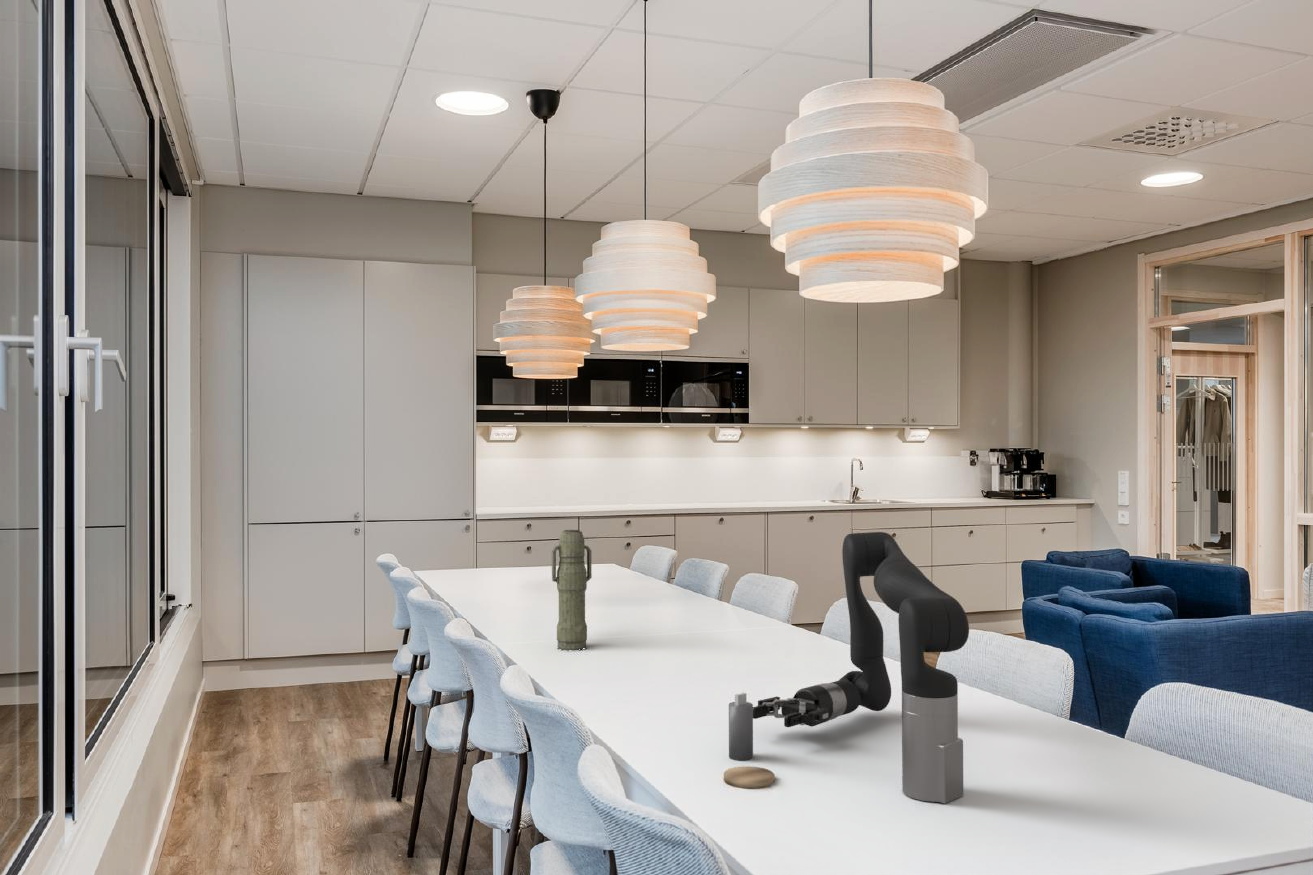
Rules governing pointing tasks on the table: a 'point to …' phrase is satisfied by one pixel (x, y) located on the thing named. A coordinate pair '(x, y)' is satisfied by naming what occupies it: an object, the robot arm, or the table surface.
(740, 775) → the coaster
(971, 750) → the table surface
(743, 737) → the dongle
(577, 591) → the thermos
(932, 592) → the robot arm
